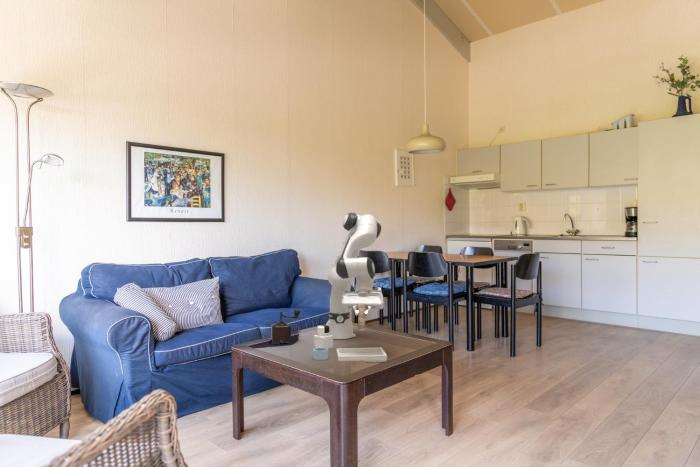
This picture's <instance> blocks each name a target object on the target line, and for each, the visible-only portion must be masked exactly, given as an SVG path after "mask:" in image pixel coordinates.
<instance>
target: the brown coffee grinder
mask: <svg viewBox="0 0 700 467" xmlns="http://www.w3.org/2000/svg"><path fill="white" fill-rule="evenodd" d="M301 313H302V312H301V310H300V309H298V308H297V309H296V308H295V309H294V310H293V316H292V315H284V314H283V311H280V312H279V319H280V320H279V321H276V322H275V323H271V324H270V340H271V339H272V342H291V343H292V326H291V323H290V322H286V321H284V320H282V319H283V318H289V319H293V320H296V319H299V316H300V315H301Z"/></svg>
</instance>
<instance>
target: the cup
mask: <svg viewBox="0 0 700 467" xmlns="http://www.w3.org/2000/svg"><path fill="white" fill-rule="evenodd" d="M312 360H315V361H325V360H329V349H328V348H314V347H313V348H312Z"/></svg>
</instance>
